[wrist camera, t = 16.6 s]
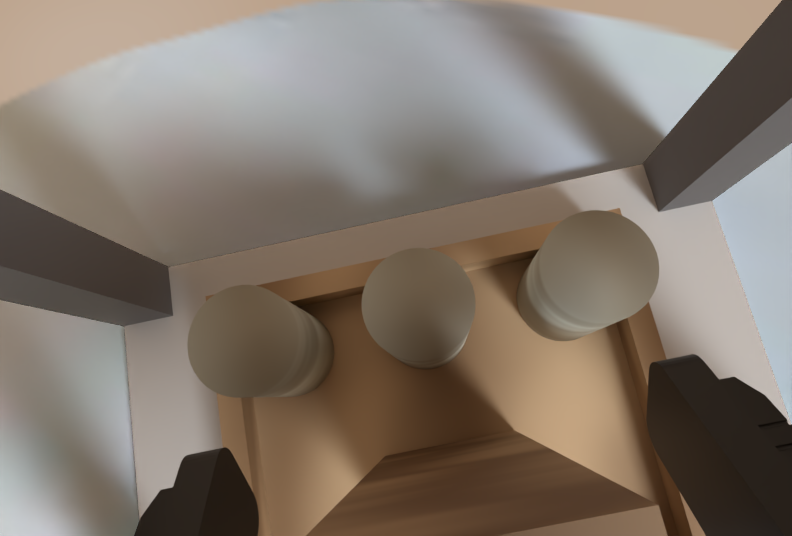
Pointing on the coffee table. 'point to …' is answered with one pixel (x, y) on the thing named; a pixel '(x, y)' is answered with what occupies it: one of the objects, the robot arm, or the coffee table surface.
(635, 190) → the grey stool
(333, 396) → the brown tray with block
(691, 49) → the coffee table surface
